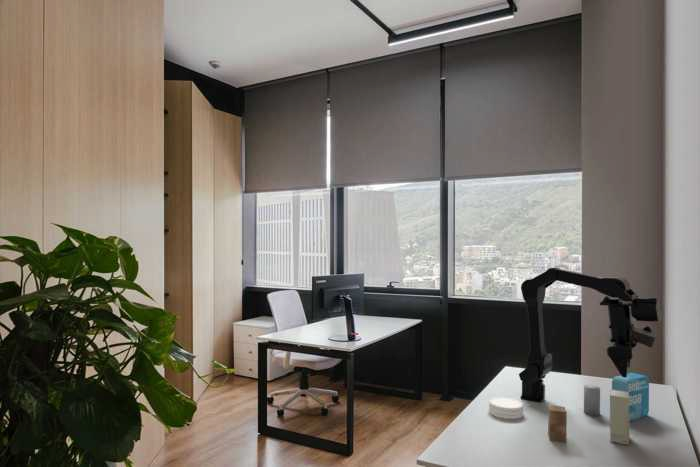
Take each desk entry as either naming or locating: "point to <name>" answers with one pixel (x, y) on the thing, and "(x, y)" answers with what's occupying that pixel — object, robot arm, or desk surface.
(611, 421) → the skincare box
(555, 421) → the walnut block
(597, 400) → the grey cylinder
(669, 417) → the desk surface
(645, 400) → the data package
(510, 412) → the coaster
